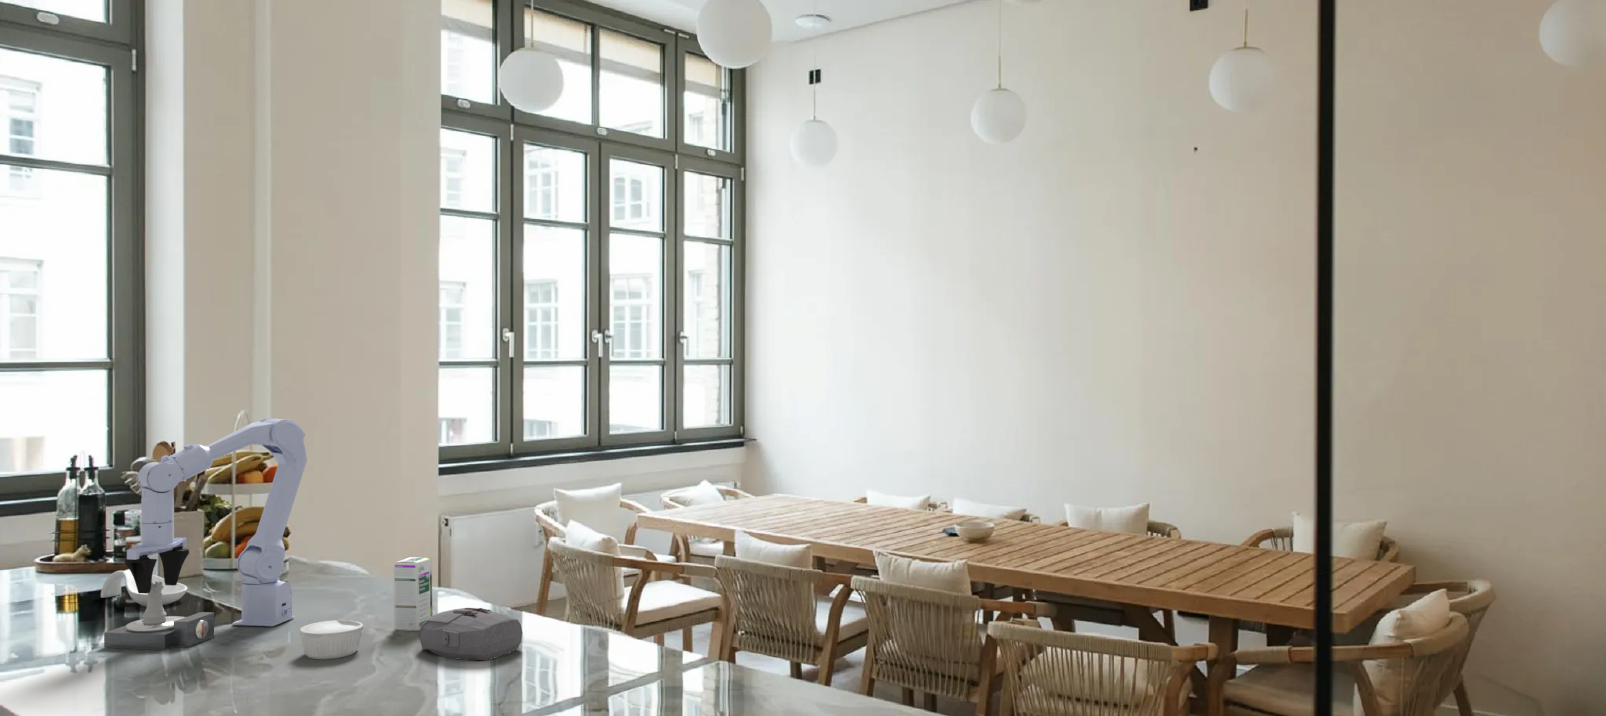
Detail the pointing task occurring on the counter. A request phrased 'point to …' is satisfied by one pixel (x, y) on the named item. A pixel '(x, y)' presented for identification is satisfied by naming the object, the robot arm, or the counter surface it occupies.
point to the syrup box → (412, 593)
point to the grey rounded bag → (470, 634)
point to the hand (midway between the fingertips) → (157, 589)
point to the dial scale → (162, 633)
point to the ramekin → (331, 638)
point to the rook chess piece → (154, 606)
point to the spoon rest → (114, 588)
